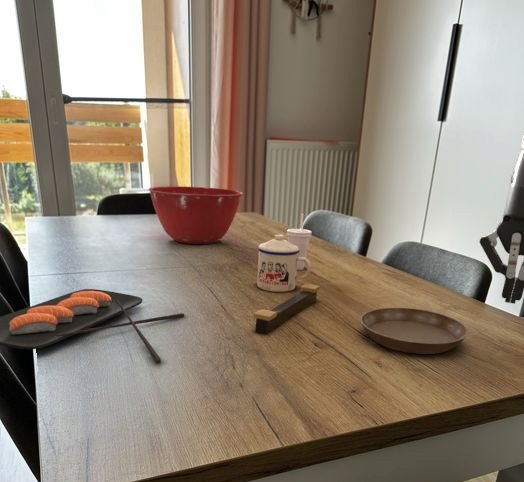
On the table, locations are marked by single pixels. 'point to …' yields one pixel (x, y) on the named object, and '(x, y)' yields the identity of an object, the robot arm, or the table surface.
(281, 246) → the teacup with lid
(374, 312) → the plant saucer
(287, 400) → the table surface
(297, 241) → the smoothie
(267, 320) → the rail
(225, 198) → the mixing bowl
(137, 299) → the sushi plate
